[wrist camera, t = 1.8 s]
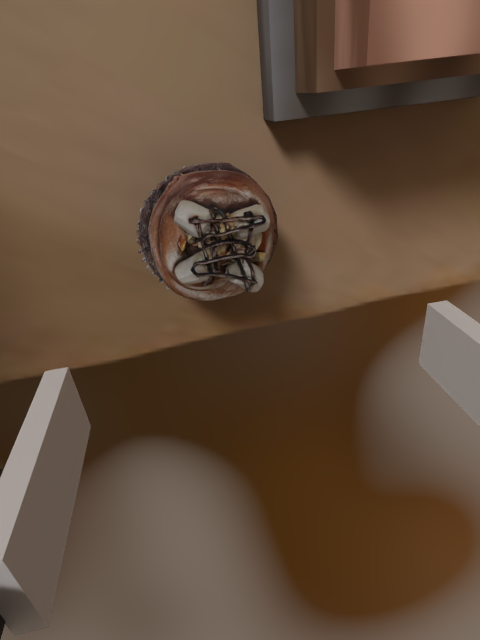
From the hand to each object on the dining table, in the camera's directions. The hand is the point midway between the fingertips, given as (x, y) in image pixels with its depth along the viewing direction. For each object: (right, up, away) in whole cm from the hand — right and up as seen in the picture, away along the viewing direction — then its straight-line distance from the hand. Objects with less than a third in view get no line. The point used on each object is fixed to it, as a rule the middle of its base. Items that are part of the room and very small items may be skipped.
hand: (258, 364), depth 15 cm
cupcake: (-4, +10, +17) cm, 20 cm away
